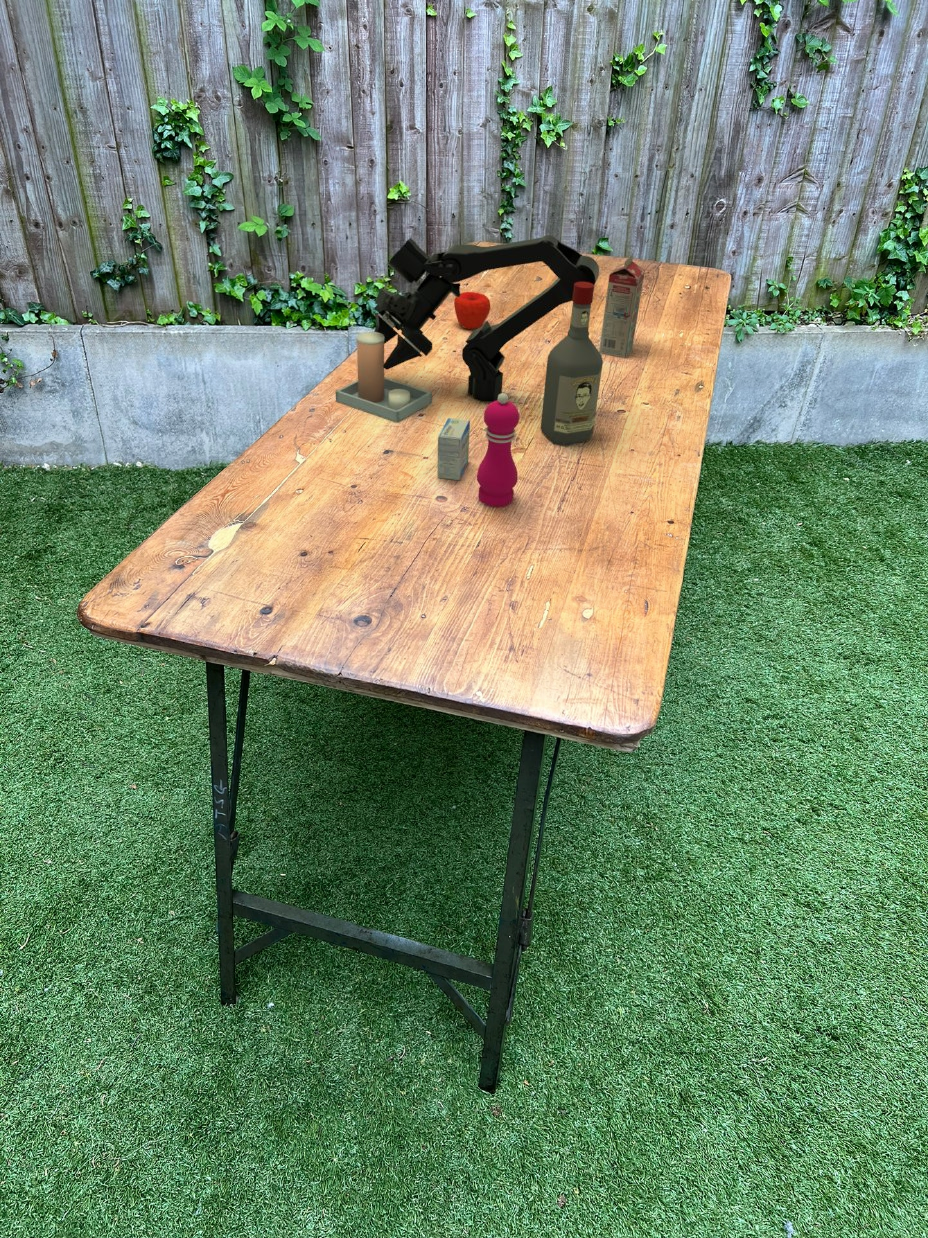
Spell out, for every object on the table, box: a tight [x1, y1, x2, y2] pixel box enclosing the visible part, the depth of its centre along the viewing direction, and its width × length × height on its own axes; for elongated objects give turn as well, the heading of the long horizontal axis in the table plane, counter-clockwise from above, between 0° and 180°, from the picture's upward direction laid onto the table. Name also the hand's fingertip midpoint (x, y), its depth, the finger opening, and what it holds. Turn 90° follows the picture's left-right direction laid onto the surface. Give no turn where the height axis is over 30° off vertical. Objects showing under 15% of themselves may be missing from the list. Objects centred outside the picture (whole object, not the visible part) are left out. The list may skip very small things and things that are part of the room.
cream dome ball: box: [389, 389, 410, 410], centre depth 189 cm, size 4×4×3 cm
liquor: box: [540, 282, 604, 447], centre depth 176 cm, size 9×9×30 cm
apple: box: [453, 291, 491, 331], centre depth 228 cm, size 9×9×8 cm
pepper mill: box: [476, 392, 520, 508], centre depth 158 cm, size 7×7×20 cm
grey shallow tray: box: [335, 376, 433, 424], centre depth 191 cm, size 16×12×3 cm
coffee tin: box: [356, 331, 385, 403], centre depth 189 cm, size 6×6×13 cm
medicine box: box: [436, 417, 471, 481], centre depth 169 cm, size 8×4×9 cm, turn 168°
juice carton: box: [598, 253, 645, 359], centre depth 215 cm, size 7×7×22 cm
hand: (376, 359), depth 189 cm, fingers open, 9 cm apart
